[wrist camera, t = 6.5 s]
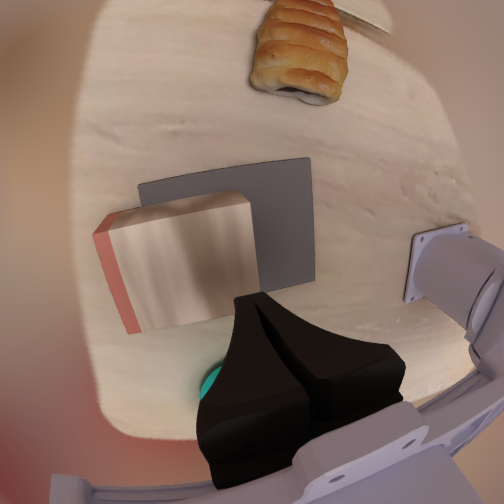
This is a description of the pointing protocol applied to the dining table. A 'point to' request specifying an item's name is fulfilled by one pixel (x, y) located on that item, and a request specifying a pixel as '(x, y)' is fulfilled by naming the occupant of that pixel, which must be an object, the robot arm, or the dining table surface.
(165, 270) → the block
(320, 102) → the pastry
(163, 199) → the mat
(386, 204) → the dining table surface
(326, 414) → the robot arm
